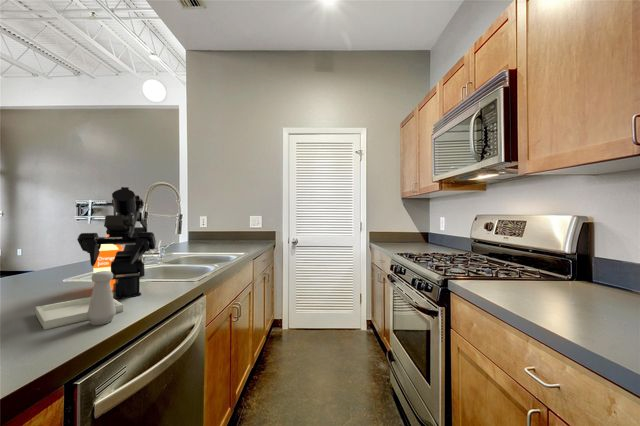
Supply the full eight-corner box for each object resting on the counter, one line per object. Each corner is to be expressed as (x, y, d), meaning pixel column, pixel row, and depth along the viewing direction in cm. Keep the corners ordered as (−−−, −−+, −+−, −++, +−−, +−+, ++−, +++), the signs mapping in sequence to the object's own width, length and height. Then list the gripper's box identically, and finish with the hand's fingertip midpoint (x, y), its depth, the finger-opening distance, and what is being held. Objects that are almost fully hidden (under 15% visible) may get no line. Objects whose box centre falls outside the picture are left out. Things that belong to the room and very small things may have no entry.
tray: (106, 300, 88) (106, 294, 88) (123, 311, 78) (123, 304, 78) (35, 314, 76) (35, 306, 76) (44, 329, 66) (44, 321, 66)
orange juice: (93, 292, 97) (92, 236, 97) (99, 286, 105) (97, 234, 105) (120, 289, 101) (119, 234, 101) (124, 283, 109) (122, 233, 109)
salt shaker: (92, 328, 67) (92, 275, 67) (83, 323, 70) (83, 272, 70) (120, 320, 72) (120, 271, 72) (110, 316, 75) (110, 268, 75)
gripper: (80, 205, 80) (59, 247, 69) (154, 206, 86) (145, 245, 76) (91, 230, 87) (74, 272, 77) (159, 230, 94) (151, 268, 83)
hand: (112, 264), depth 78 cm, fingers open, 9 cm apart
